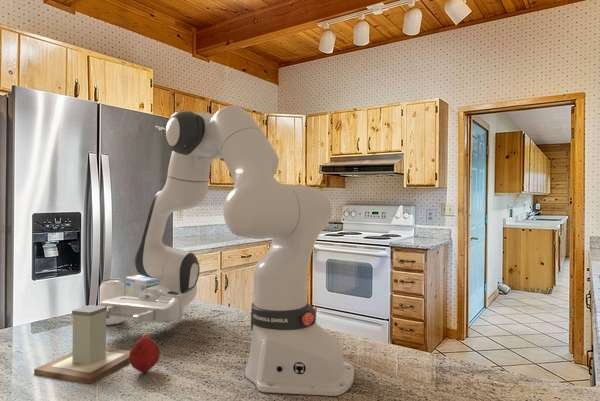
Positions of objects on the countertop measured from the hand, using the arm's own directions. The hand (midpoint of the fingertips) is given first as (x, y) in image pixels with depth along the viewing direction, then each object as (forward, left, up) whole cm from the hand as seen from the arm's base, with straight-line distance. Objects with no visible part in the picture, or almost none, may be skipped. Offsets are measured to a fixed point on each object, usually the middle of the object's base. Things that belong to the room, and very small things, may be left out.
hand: (118, 317), depth 95 cm
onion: (-14, +9, -8) cm, 18 cm away
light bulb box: (+16, -30, -8) cm, 35 cm away
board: (0, +9, -8) cm, 12 cm away
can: (+17, -17, -8) cm, 25 cm away
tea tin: (0, +9, -7) cm, 11 cm away
